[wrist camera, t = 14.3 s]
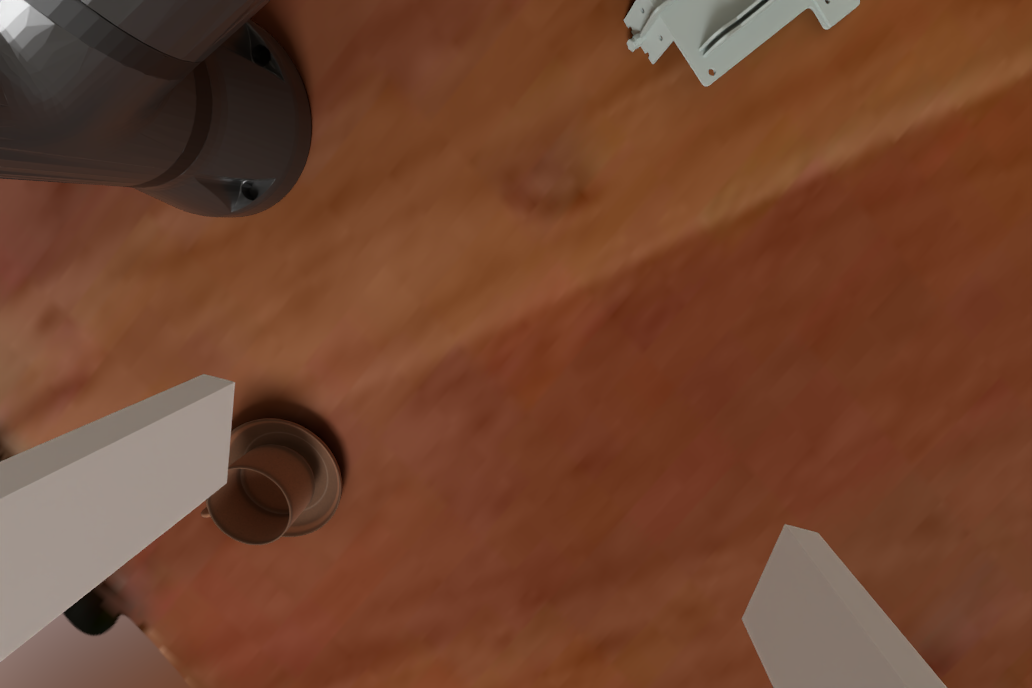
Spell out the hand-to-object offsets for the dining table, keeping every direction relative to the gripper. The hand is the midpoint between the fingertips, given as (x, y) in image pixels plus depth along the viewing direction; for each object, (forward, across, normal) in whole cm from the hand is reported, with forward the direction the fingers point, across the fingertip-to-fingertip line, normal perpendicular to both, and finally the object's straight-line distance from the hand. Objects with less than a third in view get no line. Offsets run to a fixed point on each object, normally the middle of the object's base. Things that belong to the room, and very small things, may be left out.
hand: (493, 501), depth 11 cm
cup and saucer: (+29, -19, -22) cm, 41 cm away
